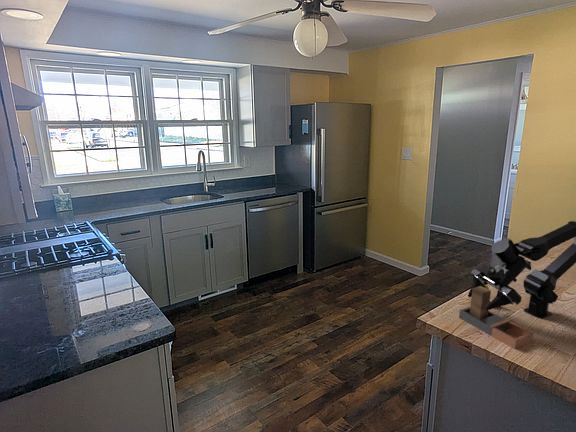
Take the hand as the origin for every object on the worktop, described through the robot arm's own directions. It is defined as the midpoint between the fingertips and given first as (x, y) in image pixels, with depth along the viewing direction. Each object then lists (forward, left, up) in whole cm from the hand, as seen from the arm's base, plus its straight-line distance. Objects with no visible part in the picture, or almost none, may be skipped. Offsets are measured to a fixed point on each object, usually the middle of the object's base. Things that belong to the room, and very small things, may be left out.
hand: (477, 302), depth 125 cm
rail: (-1, +6, -7) cm, 9 cm away
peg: (-1, 0, -7) cm, 7 cm away
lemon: (-13, -9, -7) cm, 18 cm away
